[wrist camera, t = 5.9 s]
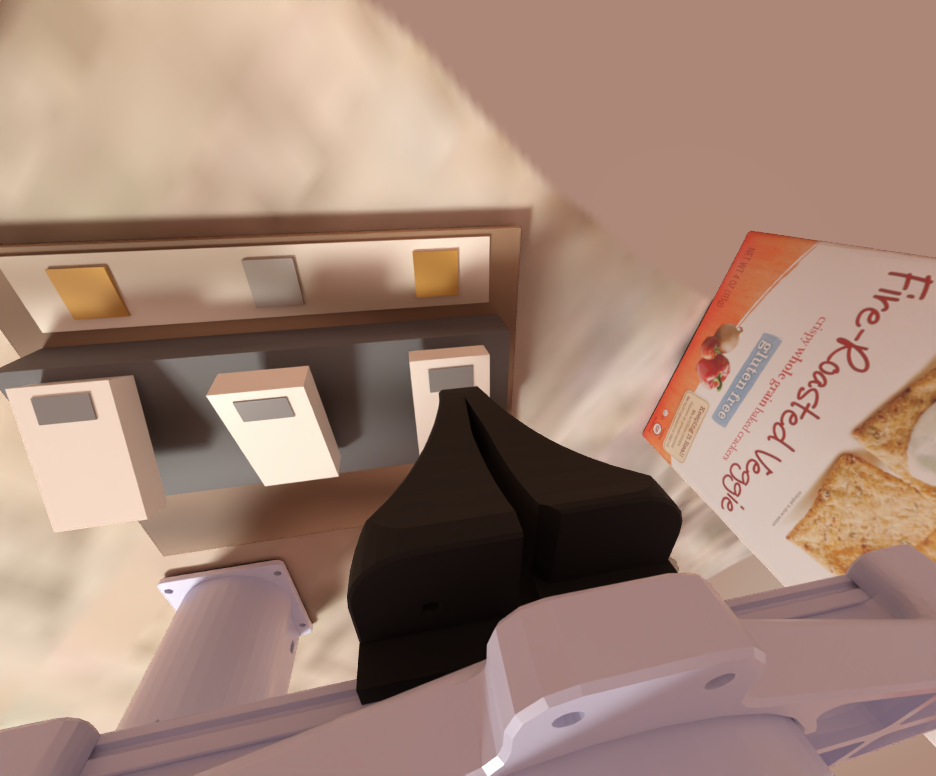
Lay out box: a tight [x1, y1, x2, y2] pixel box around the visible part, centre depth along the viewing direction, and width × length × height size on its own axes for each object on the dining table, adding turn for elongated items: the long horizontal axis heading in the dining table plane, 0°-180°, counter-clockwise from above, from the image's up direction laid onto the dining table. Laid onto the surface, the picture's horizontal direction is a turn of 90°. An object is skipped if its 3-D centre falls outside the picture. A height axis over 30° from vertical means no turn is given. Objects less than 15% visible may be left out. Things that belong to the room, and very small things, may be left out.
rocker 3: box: [409, 345, 490, 455], centre depth 16 cm, size 6×3×1 cm, turn 1°
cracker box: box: [643, 231, 936, 747], centre depth 14 cm, size 14×6×21 cm, turn 169°
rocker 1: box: [5, 375, 167, 532], centre depth 14 cm, size 6×3×1 cm, turn 1°
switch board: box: [0, 225, 521, 556], centre depth 18 cm, size 18×22×3 cm
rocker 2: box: [206, 366, 341, 486], centre depth 15 cm, size 6×3×1 cm, turn 1°
